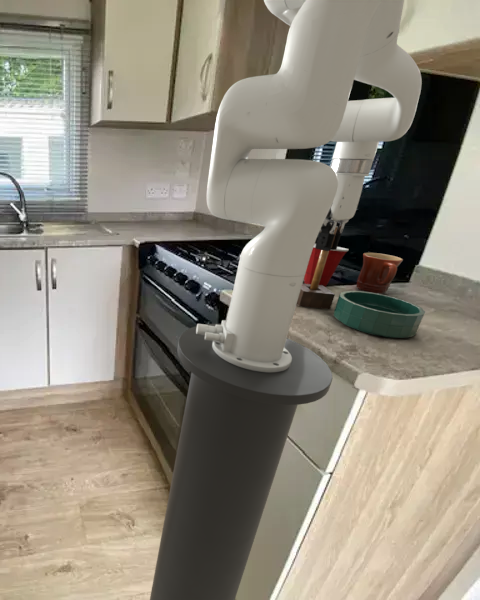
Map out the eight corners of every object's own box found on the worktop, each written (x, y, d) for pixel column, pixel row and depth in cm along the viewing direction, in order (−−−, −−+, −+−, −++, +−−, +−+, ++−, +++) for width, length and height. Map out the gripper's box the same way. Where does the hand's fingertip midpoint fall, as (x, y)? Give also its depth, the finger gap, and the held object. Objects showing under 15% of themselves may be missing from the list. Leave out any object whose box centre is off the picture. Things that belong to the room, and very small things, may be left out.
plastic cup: (338, 284, 107) (351, 245, 103) (333, 292, 100) (347, 251, 95) (298, 276, 114) (309, 239, 109) (290, 283, 106) (301, 244, 102)
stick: (308, 297, 90) (329, 226, 83) (305, 294, 92) (325, 225, 85) (317, 298, 89) (339, 227, 83) (314, 295, 91) (335, 225, 85)
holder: (299, 306, 88) (303, 291, 87) (290, 296, 95) (294, 282, 93) (330, 309, 87) (335, 294, 86) (318, 299, 93) (323, 285, 92)
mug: (347, 284, 108) (358, 251, 104) (380, 288, 106) (393, 254, 102) (364, 297, 97) (377, 261, 93) (401, 301, 95) (416, 265, 91)
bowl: (350, 334, 74) (359, 310, 72) (322, 309, 87) (329, 288, 85) (432, 344, 71) (443, 319, 69) (389, 316, 84) (398, 295, 82)
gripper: (347, 168, 86) (325, 243, 93) (313, 167, 78) (292, 248, 85) (384, 170, 80) (357, 249, 87) (352, 168, 72) (325, 256, 79)
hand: (325, 248), depth 86 cm, fingers closed on stick, 2 cm apart
